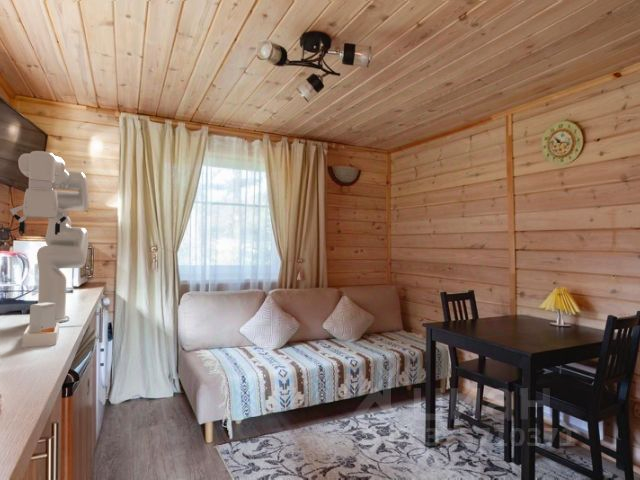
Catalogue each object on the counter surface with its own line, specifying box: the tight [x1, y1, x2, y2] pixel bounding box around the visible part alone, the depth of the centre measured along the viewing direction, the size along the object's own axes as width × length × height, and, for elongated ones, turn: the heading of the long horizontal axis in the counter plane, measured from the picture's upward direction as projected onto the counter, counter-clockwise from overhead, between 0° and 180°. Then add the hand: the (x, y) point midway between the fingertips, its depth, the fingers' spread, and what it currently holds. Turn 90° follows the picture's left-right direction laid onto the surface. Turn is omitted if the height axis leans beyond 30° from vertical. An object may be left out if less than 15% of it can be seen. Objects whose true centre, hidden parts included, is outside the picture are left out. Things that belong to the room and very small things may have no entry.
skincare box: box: [28, 302, 56, 334], centre depth 131 cm, size 6×4×12 cm
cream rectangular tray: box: [21, 322, 60, 349], centre depth 135 cm, size 18×9×4 cm, turn 31°
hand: (40, 234), depth 141 cm, fingers open, 9 cm apart
